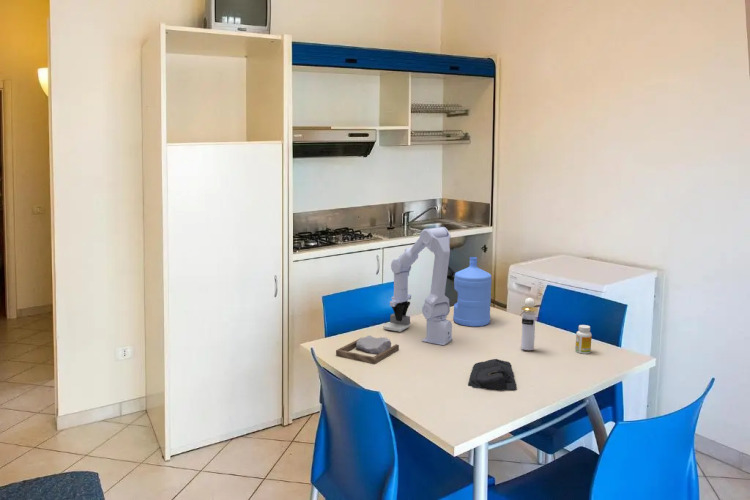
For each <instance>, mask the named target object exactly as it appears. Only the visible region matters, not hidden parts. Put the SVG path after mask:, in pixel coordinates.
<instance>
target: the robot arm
mask: <svg viewBox="0 0 750 500" xmlns="http://www.w3.org/2000/svg"><path fill="white" fill-rule="evenodd" d="M451 237H452V236H451V233H450V231H449V230H448V228H447V227H445V226H440V227H433V228H432V227H431V228H424V229H422V231H421V232H420V233H419V238H417V240H416V241H415V243H414V244H413V245H412V247H408V248H407V247H406V248H405V249H404V251H403V252H402V254H400V255H399V256H398V258H397V259H393V260H392V261H391V263H390V269H391V271H392V273H393V296H391V300H390V301H389V307H391V309H392V310H393V314H395V317H396V321H401V320H402V315H405V316H407V311H408V310H409V307H410V305H411V301H410V300H411V299H412V294H409V276H410V271H411V269H412V265H413V264H414V263H415V261H417V260H418V258H419V254H420V253H421V252H422V251H423V250H424V249H425V248H427V249H428V251H430V252H431V253H433V254H434V262H433V267H432V268H433V269H432V277H431V285H430V293H429V294H428V295H427V296H426V298H425V299H424V303H423V304H422V305H423V306H422V309H421V311H422V312H421V313H422V315H423V317H424V320H426V325H425V326H426V331H425V332H426V333H425V334H426V336H425V338H423V339H422V340H421V341H422V342H424V343H429V344H435V345H439V346H445V345H447V344H448V343H450V342H451V341H453V338H452V337H453V336H452V335H453V324H452V321H451V320H448V319H447V318H448V317H447V316H448V315H449V314H450V311H451V307H450V298H449V297H447V295H445V294H446V287H447V286H446V285H447V277H448V272H449V271H448V270H449V263H450V254H451V249H450V245H451V244H450V243H451Z"/></svg>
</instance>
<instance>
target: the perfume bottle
mask: <svg viewBox="0 0 750 500" xmlns="http://www.w3.org/2000/svg"><path fill="white" fill-rule="evenodd" d="M535 303H536V302H535V299H534V298H533V297H526V299H525V300H524V305H523V306H521V308H520V309H521V310H522V311H523V312H522V317H521V324H522V328H521V350H525V351H533V350H534V349H535V337H536V336H535V333H536V331H535V330H536V316H537V315H536V312H537V311H538V307H536V306H535Z"/></svg>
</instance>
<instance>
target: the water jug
mask: <svg viewBox="0 0 750 500" xmlns="http://www.w3.org/2000/svg"><path fill="white" fill-rule="evenodd" d="M453 281H454V282H453V283H454V285H453V287H454V290H455V291H456V292H457V302H455V303H454V305H453V316H452V318H453V319H452V320H453V322H454V323H456V324H457V325H460V326H464V327H471V328H472V327H483V326H487V325H489V324H490V322H491V303H492V296H491V295H492V293H491V291H492V282H493V281H492V275H491V273H489V272H488V271H485V270H484V269H481V268H480V267H478V257H476V256H470V257H469V266H468V267H466V268H463V269H461V270H458V271H456V272H455V273H454V279H453Z"/></svg>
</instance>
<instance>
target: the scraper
mask: <svg viewBox="0 0 750 500" xmlns="http://www.w3.org/2000/svg"><path fill="white" fill-rule="evenodd" d="M389 315H390V316H389V317H390V319H389V321H390V322H389V323H387V324H384V326H382V328H383V329H384V330H389V331H394V332H399V333H401V332H403V331H404V330H405V329H408V328H409V327H411V316H410V315H406V316H405V315H402V320H401V321H396V317H395V313H391V314H389Z"/></svg>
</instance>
